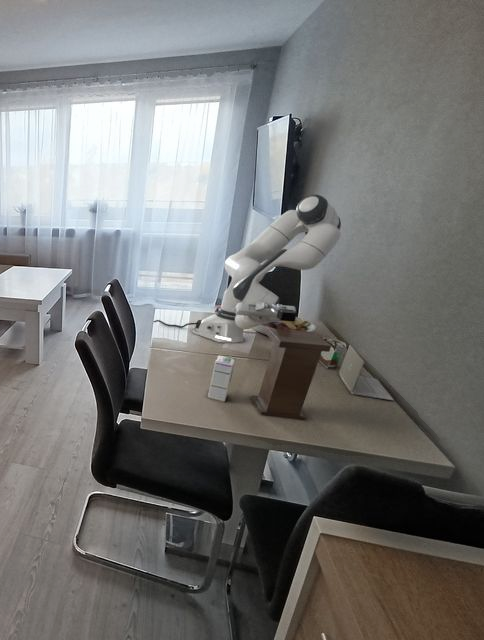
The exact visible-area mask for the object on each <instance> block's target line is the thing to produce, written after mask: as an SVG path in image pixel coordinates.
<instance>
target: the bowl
mask: <svg viewBox="0 0 484 640" xmlns="http://www.w3.org/2000/svg"><path fill="white" fill-rule="evenodd" d="M267 328H272V329H284V330H296V331H308V332H314V333H315V332H316V329H317V327H316V325H315V324H314V323H312V322H311V321H308V320H307V319H304V318H301V317H297V316H296V319H295V322H292V321H282V322H281V323H267V324H260V325H257V326H256V327H253V328H251V329H252V330H254V331H255V332H257V333H260V334H263V335H266V336H268V335H267V334H266V331H267Z"/></svg>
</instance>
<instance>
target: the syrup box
mask: <svg viewBox="0 0 484 640" xmlns="http://www.w3.org/2000/svg"><path fill="white" fill-rule="evenodd" d="M235 362H236V358H233V357H229V356H225V355H218V356H217V357H216V359H215V361H214V366H213V371H212V374H211V380H210V384H209V389H208V394H207V398H210V399H211V400H215V401H220V402H225V401H226V399H227V397H228V393H229V389H230V386H231V385H230V384H231V380H232V377H233V372H234V367H235Z"/></svg>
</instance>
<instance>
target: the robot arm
mask: <svg viewBox="0 0 484 640" xmlns="http://www.w3.org/2000/svg"><path fill="white" fill-rule="evenodd" d="M341 227H342V221H341V218H340V217H339V215H338V213H337V210H336V209H335V208H334V207H333V206H332V205H331V203H329V201H328V200H327V199H326V198H325V197H324V196H322V195H320V194H310V195H308V196H306V197H304V198H302V199H301V200H300V201H299V202H298V203H297V206H296V207H295V209H289V210H287V211H285V212H284V213H283V214H281V215H280V216H279V217H277V218H276V219H275V220H273V222H271V223H270V224H269V225H268V227H266V228H265V229H264V230H263V231H262V232H261V233H260V234H259V235H258V236H257V237H256V238H255V239H254V240H253V241H251V242H250V243H249V244H247V245H245V247H243V248H242V249H240V250H239V251H238V252H235V253H233V254H231V255H230V256H228V257H227V258H226V259H225V261H224V266H223V267H224V270H225V272H226V274H227V275H228V276H230V277H231V280H230V282H229V285H228V287H227V288H226V289H225V291H224V292H223V296H222V300H221V305H217V307H216V308H215V309H214V314H212V315H209V316H206V317H204V318H203V319H198V320H197V321H196V322H188V323H185V324H184V325H178V324H169V323H166V322H164V321H162V320H160V319H155V320H154V321H153V323H157V322H158V323H160V324H162V325H165V326H167V327H176V328H180V329H181V328H182V329H183V328H185V327H187V326H190V325H195V328H193V330H192V333H193V334H195V335H197V336H201V337H202V338H206V339H208V340H212V341H214V342H218V343H222V344H223V343H230V344H231V343H232V344H234V343H235V344H237V343H242V342H243V341H244V330H249V329H252V328H253V327H256V326H257V325H260V324H267V323H281V322H282V321H280V320H279V319H278V318H277V317H276V316H277V315H276V314H274V313H273V312H272V311H271V310H270V309H268V306H267V305H268V304H269V305H270V306H271V304H272V303H274V304H276V305H277V306H278V307H279V308H281V309H289V310H293V311H295V312H296V311H297V310H296V309H297V308H296V306H294V305H283V304H280V297H279V296H278V295H277V294H275V293H274V292H273V291H271V290H269V289H268V288H266V287H265V286H263V285H262V284H261V283H260V282H262V280H263V279H264V277H265V275H266V274H268V273H269V272H270V271H272V269H274V268H276V267H284V268H289V269H293V270H299V271H307V270H311V269H314V268H315V267H317V266H318V265H319V264H320V263H321V262H322V261H323V260H324V259H325V258H326V257H327V256H328V255H329V253H331V251H332V250H333V248H334V247H335V246H336V244H338V242H339V240H340V238H341V235H342V234H341V231H340V230H341ZM302 233H304V234H305V236H303V238H302V239H301V240H299V242H298V243H297V244H296V245H294V246H292V247H291V248H288V249H287V248H285V247H286V246H287V245H288V244H290V243H291V241H293V239H295V237H297V236H298V235H300V234H302ZM273 308H274V307H273ZM274 309H275V308H274ZM275 310H276V309H275Z"/></svg>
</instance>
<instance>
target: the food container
mask: <svg viewBox="0 0 484 640" xmlns="http://www.w3.org/2000/svg"><path fill="white" fill-rule="evenodd" d="M322 339H323V340H324V341H326V342H327V343H328V344H330V345H331V348H330V351H329V352H325V351H322V352H321V355H320V358H319V361H318V362H320V364H322V365H323V366H324V367H325V368H326V369H330V370H332V369H333V370H334V369H336V368H337V366H338V364H339V362H340V360H341V358H342V356H343V354H344V353H345V352H347V349H348V347H347V344H346V343H345V342H344V341H341V340H339V339H335V338H333V337H326V336H323V337H322Z"/></svg>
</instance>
